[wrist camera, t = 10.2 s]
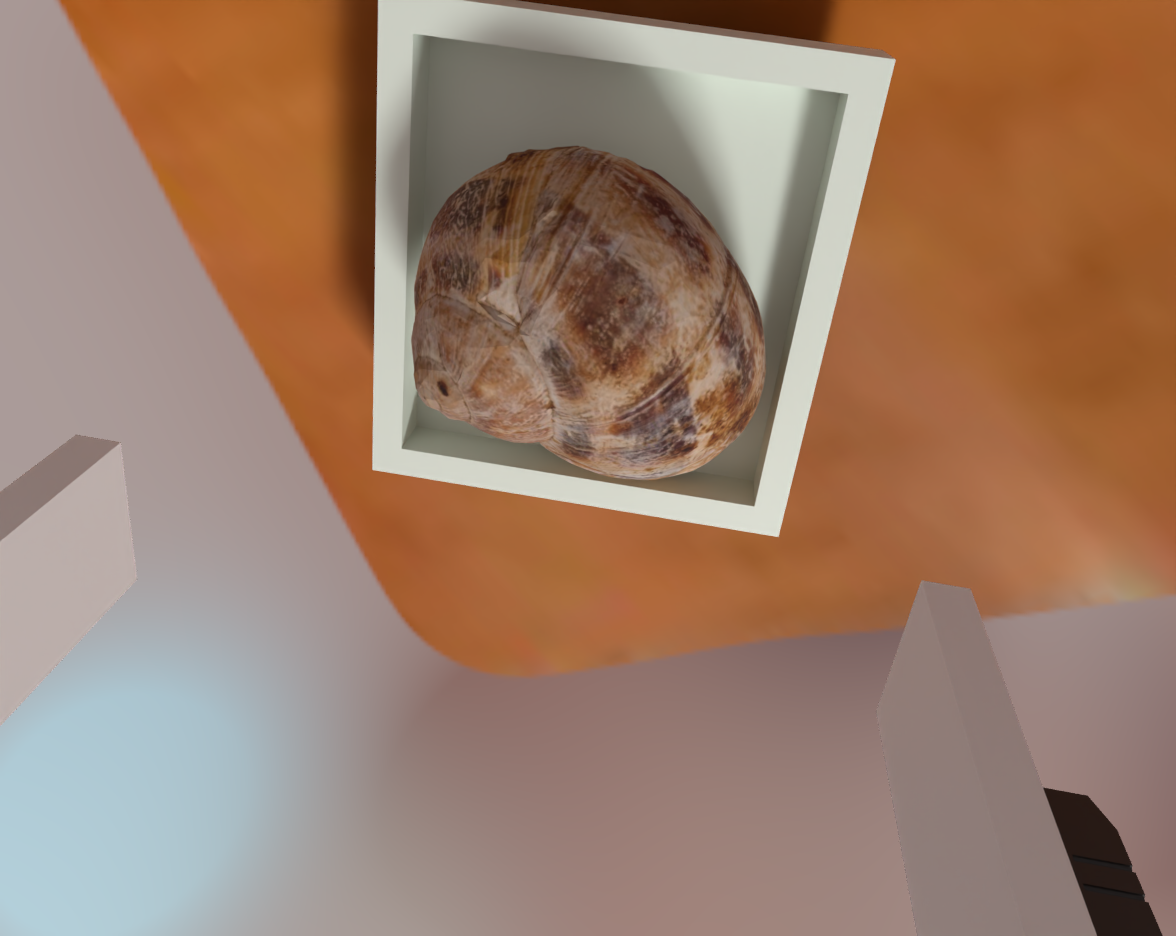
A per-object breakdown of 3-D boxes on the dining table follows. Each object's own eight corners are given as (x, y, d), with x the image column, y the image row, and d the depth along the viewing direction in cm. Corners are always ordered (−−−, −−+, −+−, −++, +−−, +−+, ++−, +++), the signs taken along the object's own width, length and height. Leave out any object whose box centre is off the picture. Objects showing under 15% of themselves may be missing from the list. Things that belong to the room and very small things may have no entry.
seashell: (449, 471, 35) (350, 446, 25) (471, 219, 35) (382, 95, 25) (752, 493, 34) (773, 476, 24) (769, 231, 34) (798, 106, 24)
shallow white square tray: (428, -18, 31) (378, -12, 27) (871, 42, 31) (895, 59, 26) (414, 408, 39) (372, 469, 34) (773, 466, 38) (778, 536, 33)
